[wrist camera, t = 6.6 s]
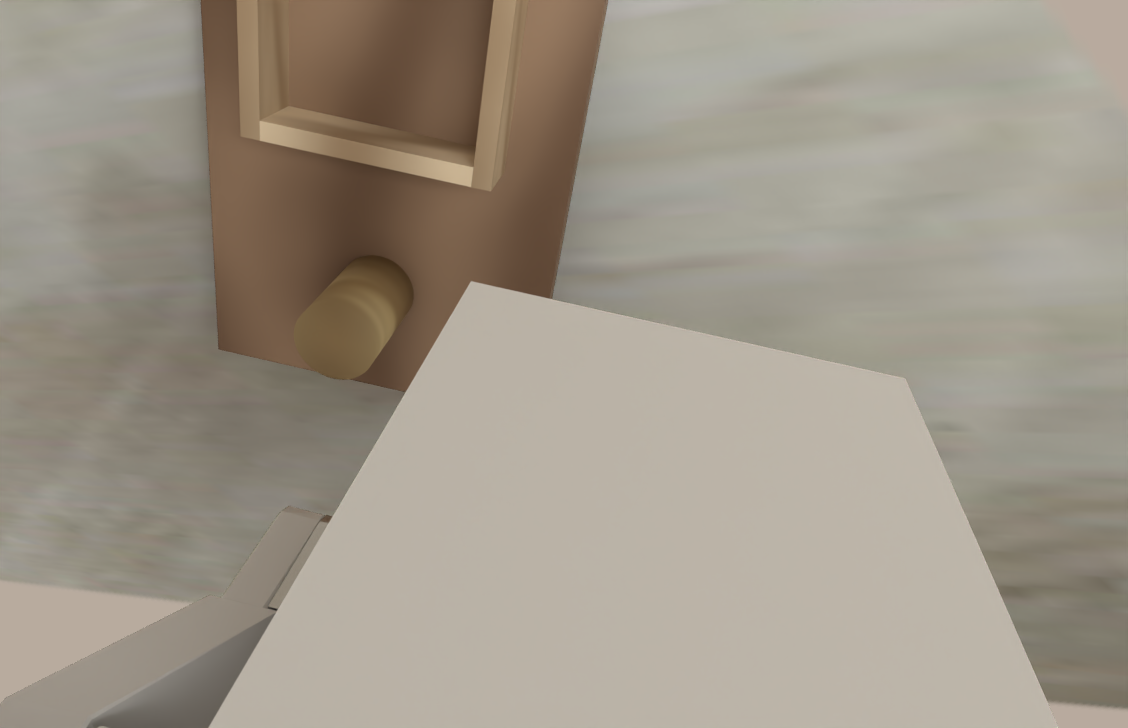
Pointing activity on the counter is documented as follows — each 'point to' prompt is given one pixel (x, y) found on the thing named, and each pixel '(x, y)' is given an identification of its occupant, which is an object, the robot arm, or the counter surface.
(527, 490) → the block
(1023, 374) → the counter surface
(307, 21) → the board
